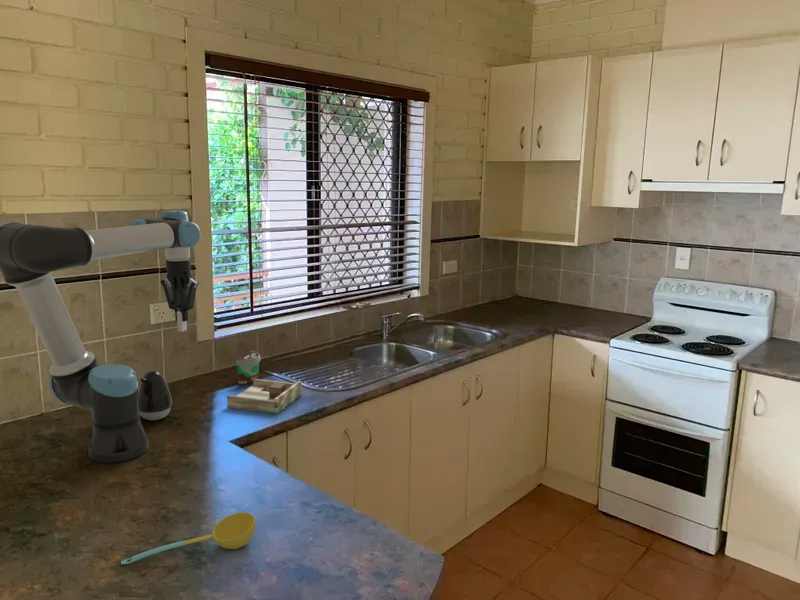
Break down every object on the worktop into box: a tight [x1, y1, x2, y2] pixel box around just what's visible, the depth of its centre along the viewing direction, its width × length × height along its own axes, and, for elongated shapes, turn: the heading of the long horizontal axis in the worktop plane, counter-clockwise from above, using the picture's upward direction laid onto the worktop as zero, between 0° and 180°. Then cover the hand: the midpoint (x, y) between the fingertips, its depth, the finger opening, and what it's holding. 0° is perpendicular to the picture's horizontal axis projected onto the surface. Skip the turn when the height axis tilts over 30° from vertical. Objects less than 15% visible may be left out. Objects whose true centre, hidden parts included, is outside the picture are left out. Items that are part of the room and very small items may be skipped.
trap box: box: [226, 378, 302, 415], centre depth 208 cm, size 18×18×5 cm
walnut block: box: [269, 383, 286, 399], centre depth 206 cm, size 4×4×4 cm
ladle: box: [120, 511, 256, 565], centre depth 126 cm, size 9×26×6 cm, turn 109°
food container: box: [235, 350, 262, 387], centre depth 226 cm, size 12×6×10 cm, turn 168°
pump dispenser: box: [138, 370, 173, 421], centre depth 192 cm, size 10×10×15 cm
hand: (182, 330), depth 203 cm, fingers closed
